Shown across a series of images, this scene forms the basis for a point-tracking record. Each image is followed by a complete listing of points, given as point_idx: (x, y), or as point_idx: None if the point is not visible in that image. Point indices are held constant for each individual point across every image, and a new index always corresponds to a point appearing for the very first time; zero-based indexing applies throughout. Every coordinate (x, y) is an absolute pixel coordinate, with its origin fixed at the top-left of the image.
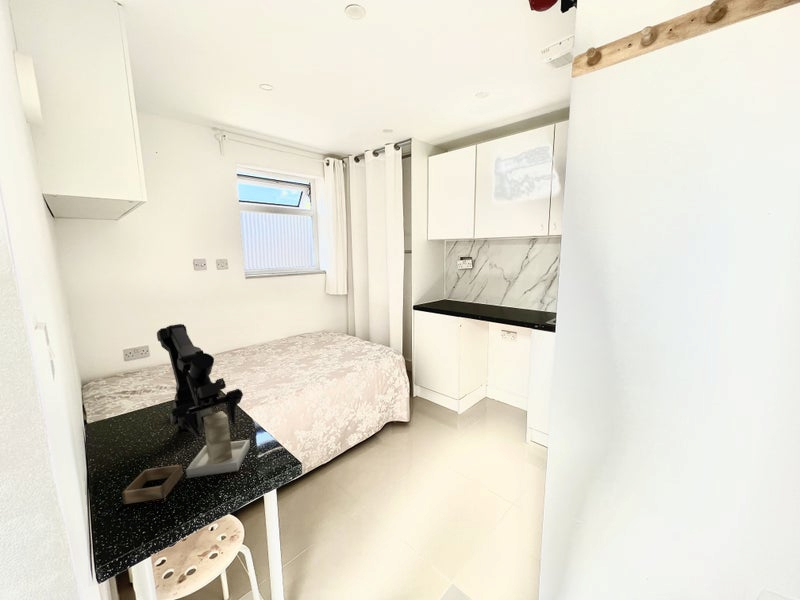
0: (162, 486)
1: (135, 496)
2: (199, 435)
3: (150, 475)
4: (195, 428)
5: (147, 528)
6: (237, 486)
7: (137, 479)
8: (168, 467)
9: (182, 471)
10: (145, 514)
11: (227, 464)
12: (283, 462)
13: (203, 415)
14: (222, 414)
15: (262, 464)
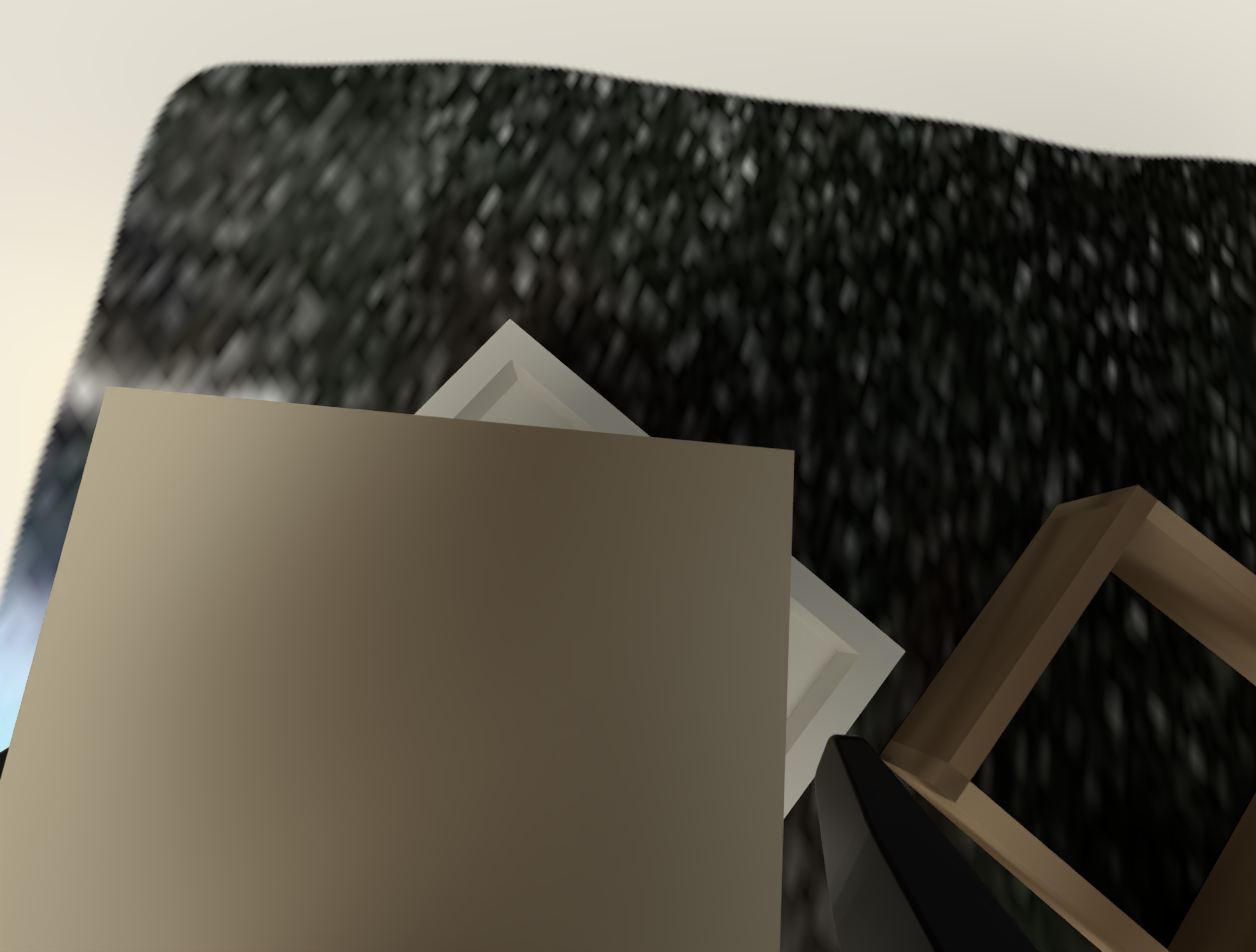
0: (1143, 495)
1: None
2: (846, 753)
3: None
4: (973, 939)
5: (1175, 256)
6: (620, 166)
7: None
8: (1057, 856)
9: (893, 764)
10: (1182, 418)
11: (580, 380)
12: (220, 134)
13: None
14: (124, 727)
15: (339, 259)
